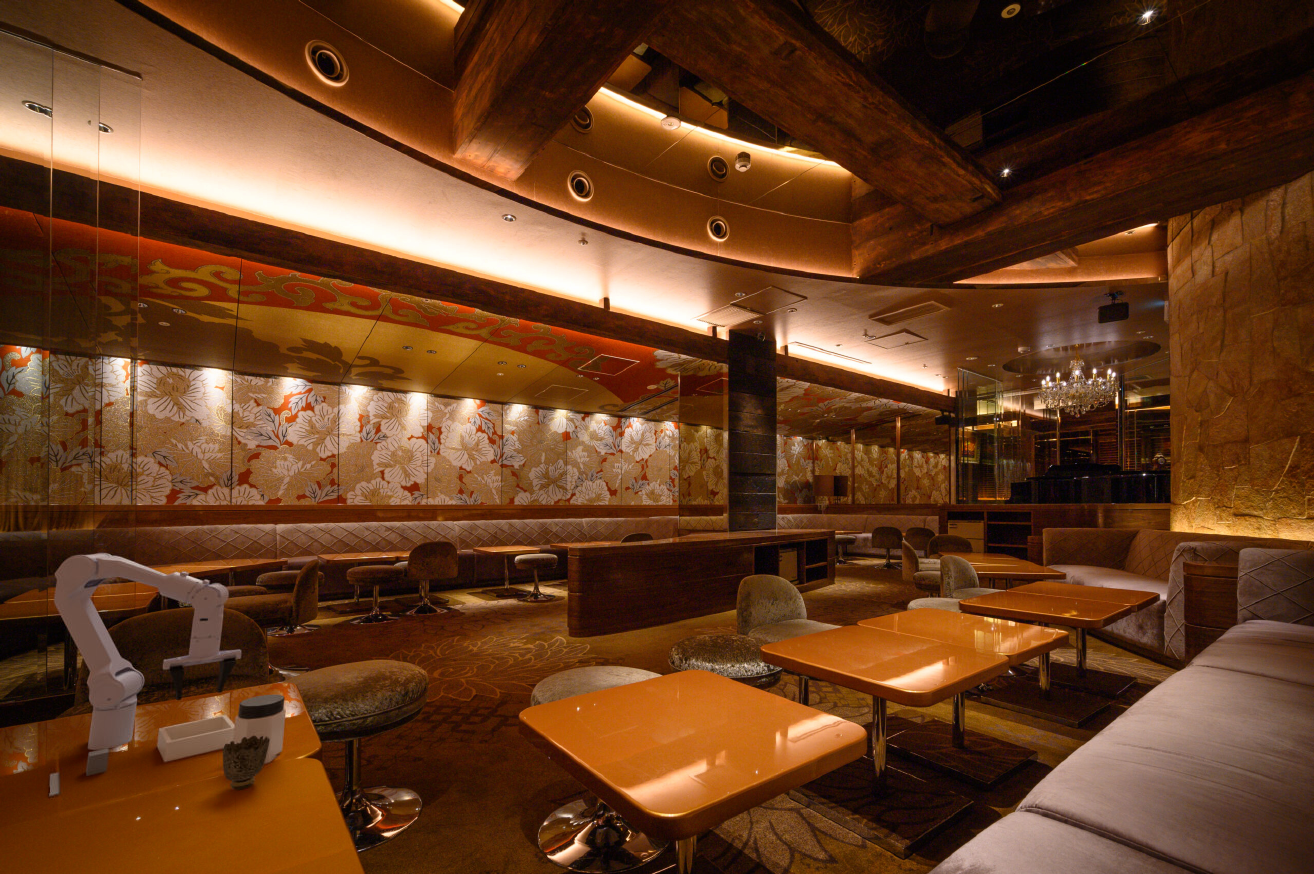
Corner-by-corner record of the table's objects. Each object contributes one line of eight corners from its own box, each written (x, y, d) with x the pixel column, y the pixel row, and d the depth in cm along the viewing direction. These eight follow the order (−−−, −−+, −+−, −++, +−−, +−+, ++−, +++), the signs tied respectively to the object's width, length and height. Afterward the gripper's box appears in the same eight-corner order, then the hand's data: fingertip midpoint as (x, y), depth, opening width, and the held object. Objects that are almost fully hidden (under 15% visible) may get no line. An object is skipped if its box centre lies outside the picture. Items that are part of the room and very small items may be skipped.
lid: (49, 779, 112) (53, 752, 112) (134, 759, 121) (138, 735, 122) (48, 800, 103) (52, 771, 104) (140, 778, 112) (144, 751, 113)
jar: (228, 771, 114) (235, 709, 116) (231, 757, 121) (238, 698, 123) (281, 761, 119) (287, 701, 121) (281, 748, 126) (286, 691, 127)
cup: (228, 799, 102) (233, 752, 104) (210, 789, 106) (215, 744, 108) (273, 783, 109) (277, 739, 110) (255, 774, 113) (259, 732, 114)
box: (156, 749, 125) (159, 728, 125) (223, 734, 133) (225, 714, 134) (164, 765, 116) (166, 742, 117) (234, 748, 125) (236, 727, 126)
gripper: (169, 643, 127) (161, 706, 125) (246, 633, 138) (240, 691, 136) (164, 638, 132) (157, 699, 130) (239, 629, 142) (233, 686, 140)
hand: (199, 695), depth 133 cm, fingers open, 7 cm apart
